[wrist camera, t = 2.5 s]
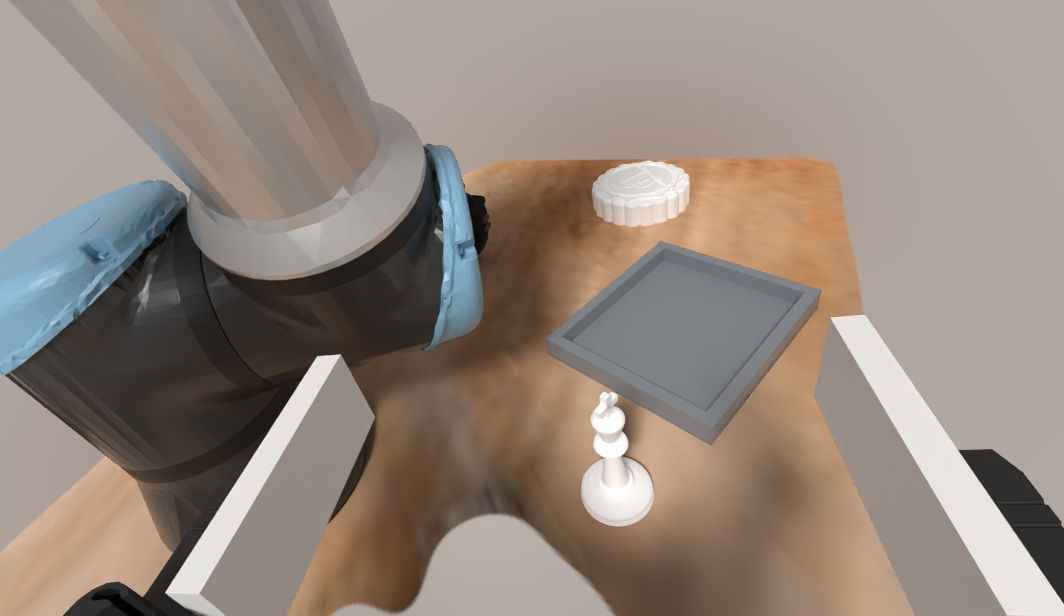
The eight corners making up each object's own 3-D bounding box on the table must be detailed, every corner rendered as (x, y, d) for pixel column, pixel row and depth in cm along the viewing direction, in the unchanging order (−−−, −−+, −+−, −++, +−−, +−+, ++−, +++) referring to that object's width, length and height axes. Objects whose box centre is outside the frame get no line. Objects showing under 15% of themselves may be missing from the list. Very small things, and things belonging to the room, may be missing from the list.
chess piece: (566, 499, 34) (543, 405, 28) (608, 448, 37) (595, 352, 31) (627, 542, 32) (616, 448, 25) (668, 484, 34) (667, 386, 28)
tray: (548, 354, 46) (545, 338, 44) (661, 256, 54) (660, 241, 53) (711, 445, 36) (712, 427, 34) (817, 308, 44) (821, 290, 43)
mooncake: (580, 198, 68) (577, 174, 66) (660, 174, 70) (660, 149, 67) (616, 239, 59) (614, 212, 57) (709, 209, 60) (710, 182, 58)
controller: (491, 273, 58) (469, 194, 51) (400, 269, 62) (370, 195, 56) (504, 252, 61) (485, 175, 54) (417, 249, 65) (390, 178, 59)
